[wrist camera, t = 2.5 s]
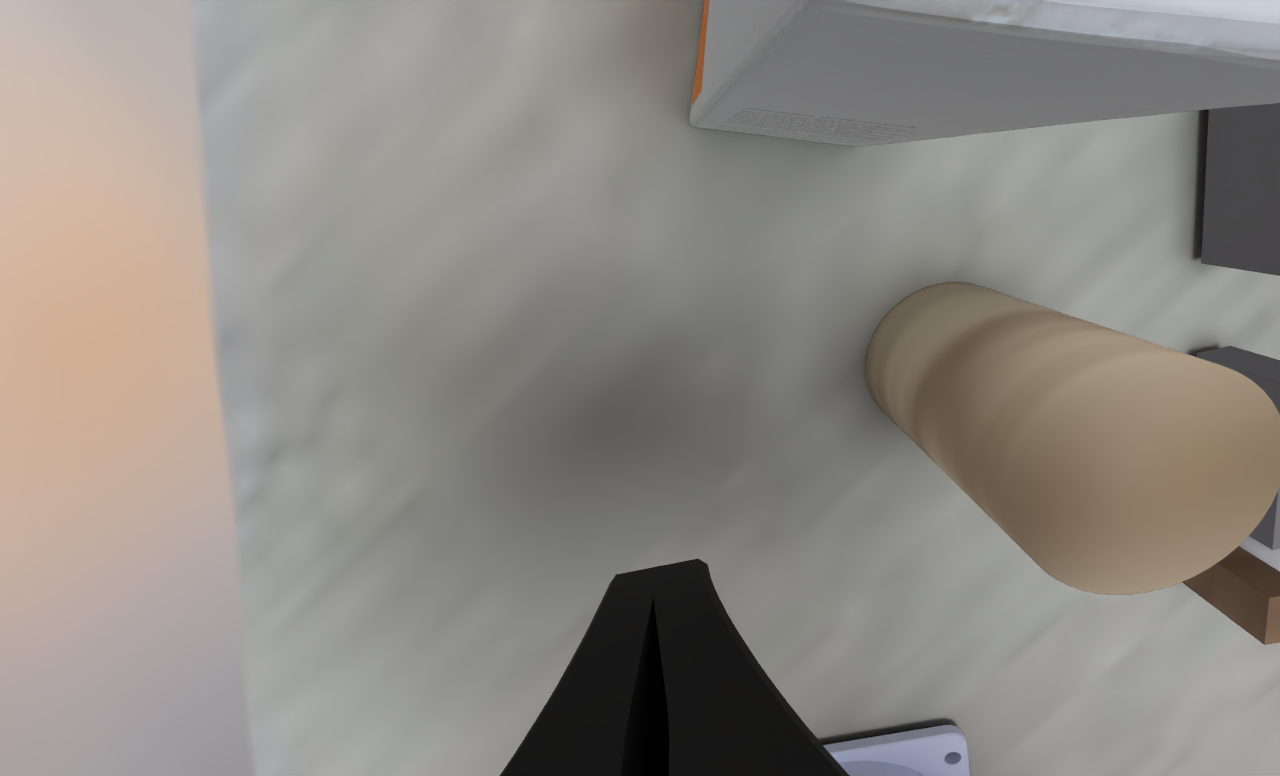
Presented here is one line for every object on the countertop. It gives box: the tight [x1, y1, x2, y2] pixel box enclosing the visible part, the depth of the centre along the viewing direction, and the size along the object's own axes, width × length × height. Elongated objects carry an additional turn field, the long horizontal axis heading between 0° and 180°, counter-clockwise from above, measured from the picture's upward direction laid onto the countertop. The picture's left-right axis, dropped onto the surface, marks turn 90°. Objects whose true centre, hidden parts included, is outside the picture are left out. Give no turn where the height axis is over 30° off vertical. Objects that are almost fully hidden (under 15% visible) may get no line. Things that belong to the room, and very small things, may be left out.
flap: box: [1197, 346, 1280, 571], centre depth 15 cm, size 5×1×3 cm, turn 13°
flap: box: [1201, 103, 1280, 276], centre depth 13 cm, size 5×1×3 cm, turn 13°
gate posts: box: [1182, 546, 1280, 645], centre depth 14 cm, size 16×1×3 cm, turn 13°
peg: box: [866, 282, 1280, 595], centre depth 13 cm, size 4×4×7 cm
